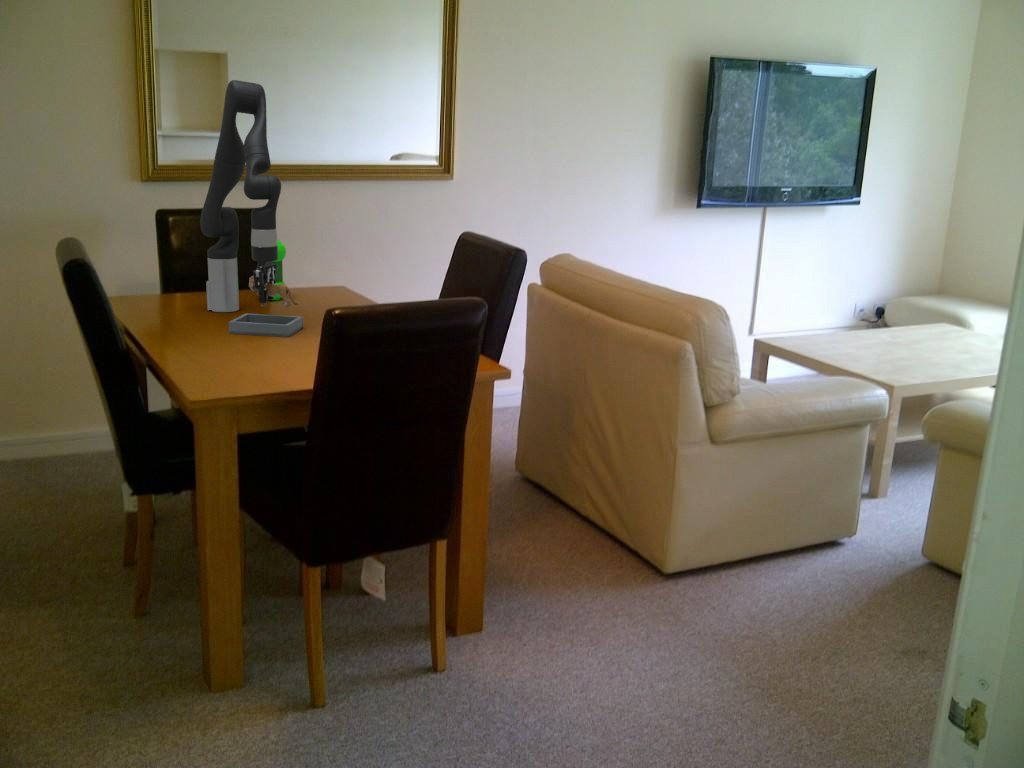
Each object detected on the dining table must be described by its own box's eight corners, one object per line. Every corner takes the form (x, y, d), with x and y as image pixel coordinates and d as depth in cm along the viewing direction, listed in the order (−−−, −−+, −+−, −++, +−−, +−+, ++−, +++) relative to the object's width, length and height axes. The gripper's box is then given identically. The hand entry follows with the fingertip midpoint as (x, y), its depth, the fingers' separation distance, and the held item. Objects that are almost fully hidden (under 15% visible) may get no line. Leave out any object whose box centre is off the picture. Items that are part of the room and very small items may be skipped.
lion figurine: (247, 306, 307) (246, 276, 305) (252, 303, 312) (251, 273, 310) (296, 308, 306) (295, 278, 304) (300, 305, 312) (300, 275, 309)
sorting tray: (229, 333, 306) (228, 322, 305) (246, 324, 319) (245, 313, 318) (288, 337, 304) (288, 325, 303) (303, 328, 317) (303, 316, 316)
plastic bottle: (253, 297, 362) (251, 225, 355) (283, 296, 366) (281, 224, 359) (259, 302, 353) (257, 229, 346) (290, 301, 357) (288, 228, 351)
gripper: (260, 240, 312) (262, 296, 317) (243, 246, 298) (245, 305, 303) (285, 241, 311) (286, 297, 316) (268, 247, 298) (270, 306, 302)
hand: (266, 301), depth 309 cm, fingers closed on lion figurine, 4 cm apart
